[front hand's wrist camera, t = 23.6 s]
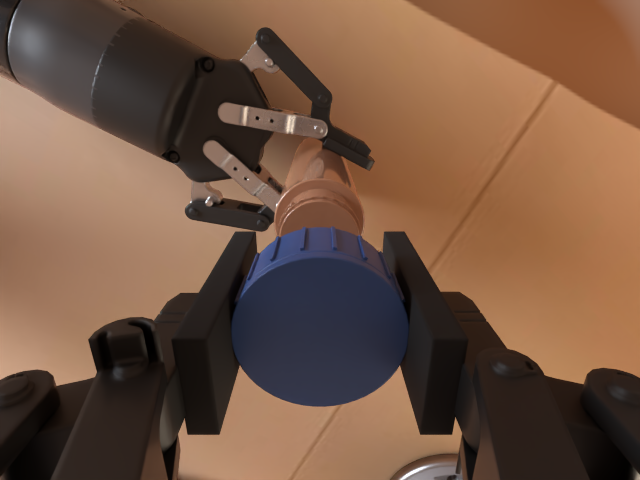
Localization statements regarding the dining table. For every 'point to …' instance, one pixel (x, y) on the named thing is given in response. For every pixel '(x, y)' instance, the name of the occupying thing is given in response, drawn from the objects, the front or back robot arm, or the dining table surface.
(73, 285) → the dining table surface
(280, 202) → the tall tan cylinder
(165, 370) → the front robot arm
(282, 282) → the lid
